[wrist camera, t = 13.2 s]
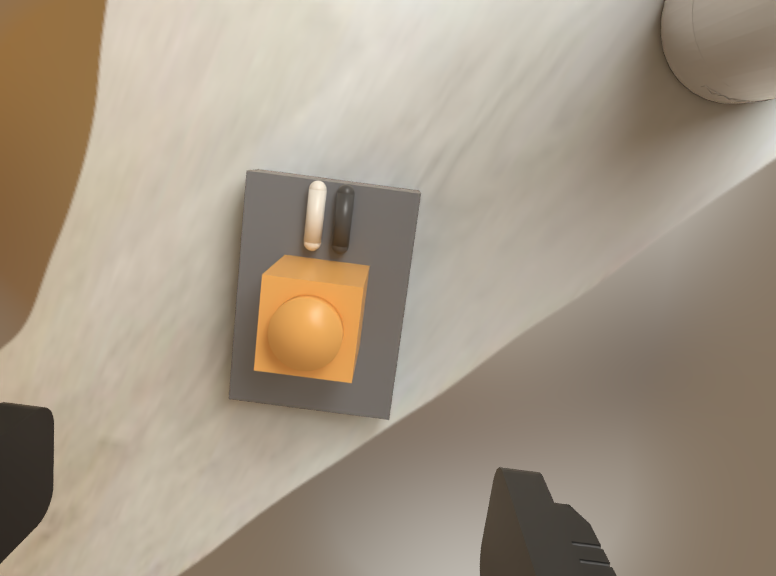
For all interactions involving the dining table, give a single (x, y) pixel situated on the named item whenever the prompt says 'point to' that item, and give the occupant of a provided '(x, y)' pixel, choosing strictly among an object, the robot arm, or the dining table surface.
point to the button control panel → (335, 243)
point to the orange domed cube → (311, 318)
